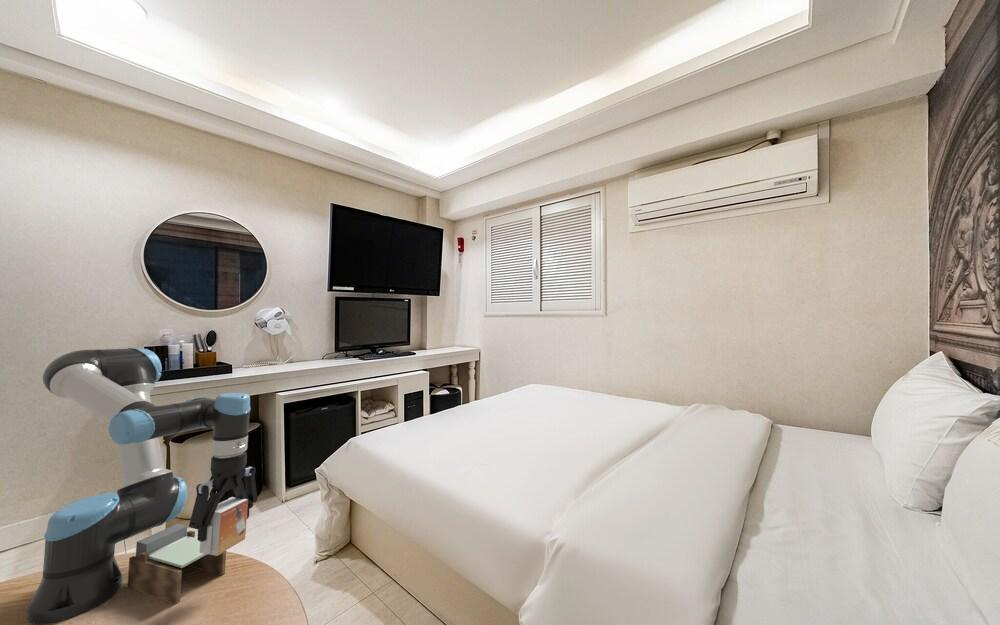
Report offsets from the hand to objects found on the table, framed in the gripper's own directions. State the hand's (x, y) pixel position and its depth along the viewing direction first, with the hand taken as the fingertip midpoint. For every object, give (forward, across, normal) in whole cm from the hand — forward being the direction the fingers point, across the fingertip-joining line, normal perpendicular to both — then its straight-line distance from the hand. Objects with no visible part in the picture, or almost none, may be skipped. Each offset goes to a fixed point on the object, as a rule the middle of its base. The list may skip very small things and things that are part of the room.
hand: (223, 542), depth 93 cm
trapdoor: (+8, -1, +15) cm, 17 cm away
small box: (+1, 0, 0) cm, 1 cm away
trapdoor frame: (+13, -1, +15) cm, 20 cm away
